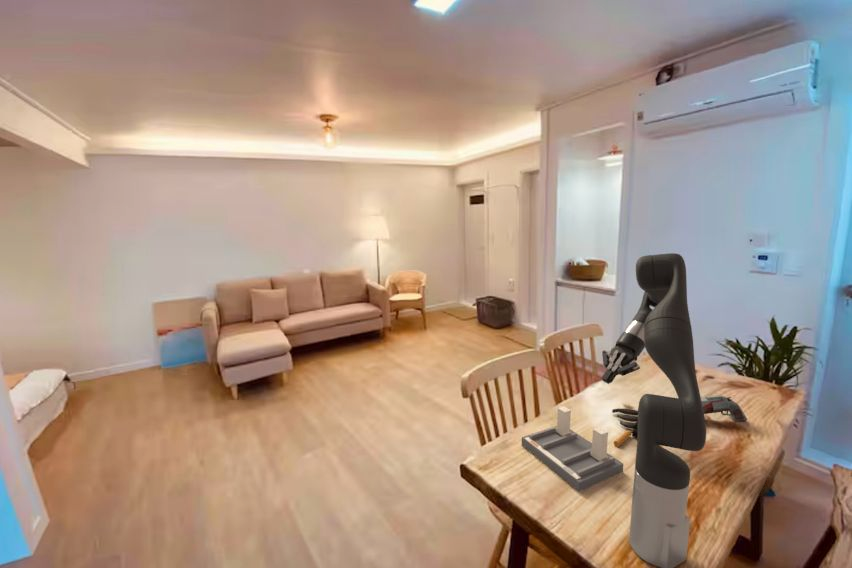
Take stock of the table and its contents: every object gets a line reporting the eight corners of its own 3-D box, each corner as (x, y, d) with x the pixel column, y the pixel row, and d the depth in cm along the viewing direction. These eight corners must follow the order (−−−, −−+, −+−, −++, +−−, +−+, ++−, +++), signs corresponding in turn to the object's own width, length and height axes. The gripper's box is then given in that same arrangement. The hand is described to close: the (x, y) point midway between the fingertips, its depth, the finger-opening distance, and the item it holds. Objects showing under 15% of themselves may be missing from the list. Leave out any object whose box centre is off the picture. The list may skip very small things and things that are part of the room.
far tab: (570, 435, 114) (571, 410, 113) (564, 437, 113) (565, 412, 112) (561, 429, 117) (562, 405, 116) (555, 431, 116) (556, 407, 115)
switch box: (622, 472, 102) (623, 459, 101) (578, 491, 95) (579, 478, 95) (561, 431, 122) (562, 420, 121) (521, 444, 115) (521, 433, 114)
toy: (676, 472, 103) (698, 425, 123) (677, 460, 102) (700, 414, 123) (590, 439, 118) (623, 402, 139) (590, 429, 118) (623, 393, 138)
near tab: (607, 459, 103) (609, 432, 101) (601, 462, 102) (602, 435, 100) (596, 452, 106) (598, 426, 104) (590, 455, 105) (591, 428, 103)
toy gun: (676, 423, 131) (672, 396, 129) (740, 416, 127) (738, 389, 126) (682, 430, 127) (679, 402, 125) (749, 424, 123) (747, 395, 121)
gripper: (611, 326, 127) (582, 368, 124) (649, 337, 115) (618, 384, 113) (621, 338, 130) (593, 379, 128) (659, 351, 118) (629, 396, 116)
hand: (605, 381), depth 120 cm, fingers closed
